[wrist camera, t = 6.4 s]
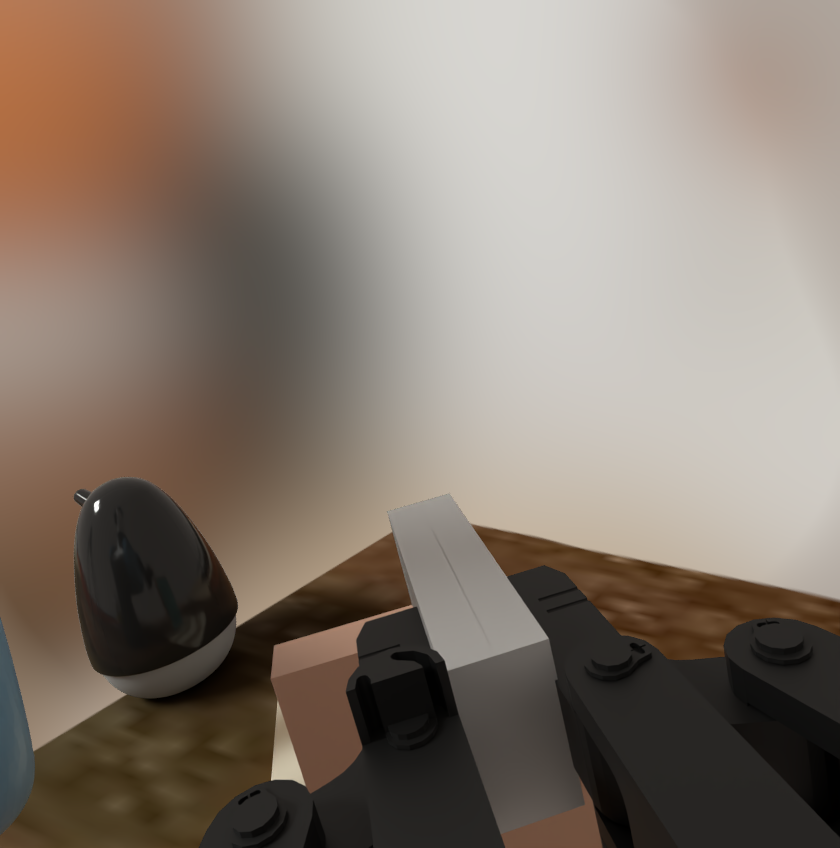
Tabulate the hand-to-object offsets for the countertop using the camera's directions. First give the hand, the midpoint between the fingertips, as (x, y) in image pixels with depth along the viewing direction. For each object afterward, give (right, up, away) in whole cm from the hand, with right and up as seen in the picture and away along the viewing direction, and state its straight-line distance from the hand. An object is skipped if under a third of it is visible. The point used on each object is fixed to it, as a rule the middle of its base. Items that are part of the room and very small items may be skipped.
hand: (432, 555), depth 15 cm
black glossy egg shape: (-18, -15, +32) cm, 40 cm away
